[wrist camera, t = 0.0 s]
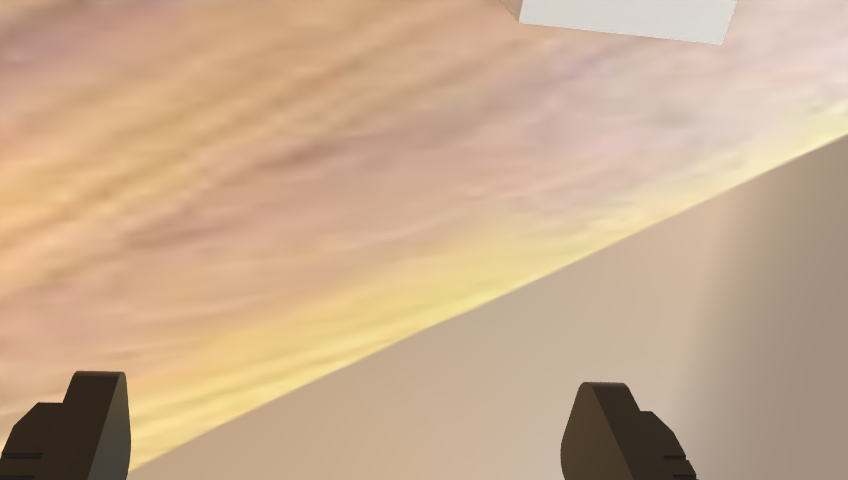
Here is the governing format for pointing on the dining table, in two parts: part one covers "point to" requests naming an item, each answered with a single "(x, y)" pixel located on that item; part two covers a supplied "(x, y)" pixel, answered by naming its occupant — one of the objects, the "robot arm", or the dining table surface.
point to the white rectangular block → (632, 17)
